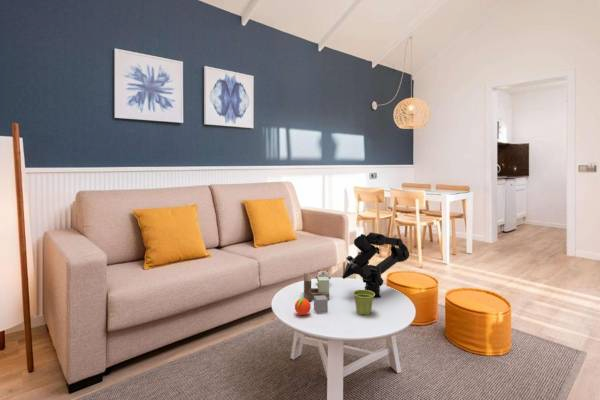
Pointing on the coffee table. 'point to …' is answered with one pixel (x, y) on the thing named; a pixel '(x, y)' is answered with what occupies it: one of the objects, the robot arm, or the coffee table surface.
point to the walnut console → (311, 289)
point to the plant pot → (363, 301)
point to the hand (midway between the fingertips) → (342, 278)
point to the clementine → (302, 306)
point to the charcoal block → (320, 304)
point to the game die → (323, 274)
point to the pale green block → (323, 285)
